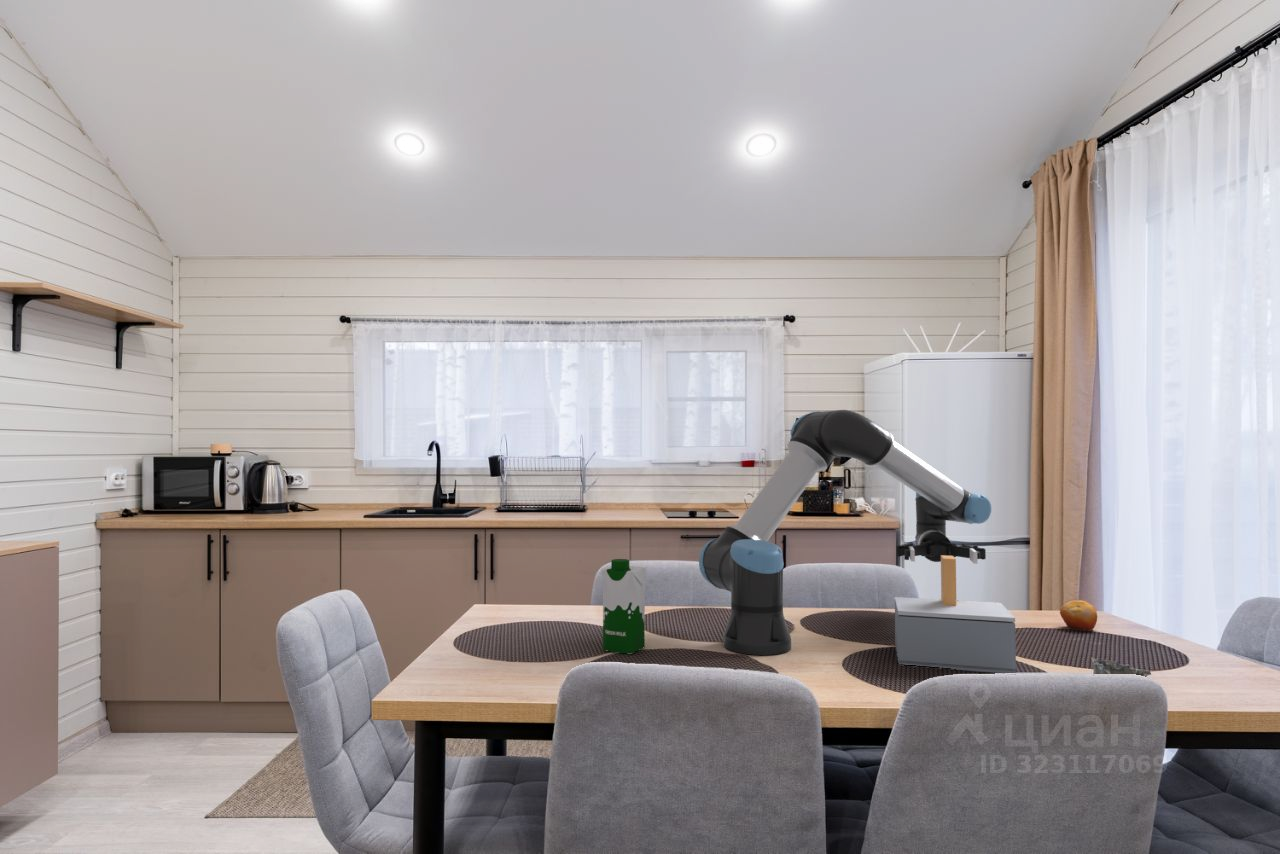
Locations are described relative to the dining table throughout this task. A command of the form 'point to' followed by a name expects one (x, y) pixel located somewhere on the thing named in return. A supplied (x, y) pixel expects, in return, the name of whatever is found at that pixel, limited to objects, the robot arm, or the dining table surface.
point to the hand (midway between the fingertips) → (943, 556)
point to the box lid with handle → (952, 601)
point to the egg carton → (1116, 668)
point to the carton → (956, 643)
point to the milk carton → (623, 607)
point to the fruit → (1079, 615)
